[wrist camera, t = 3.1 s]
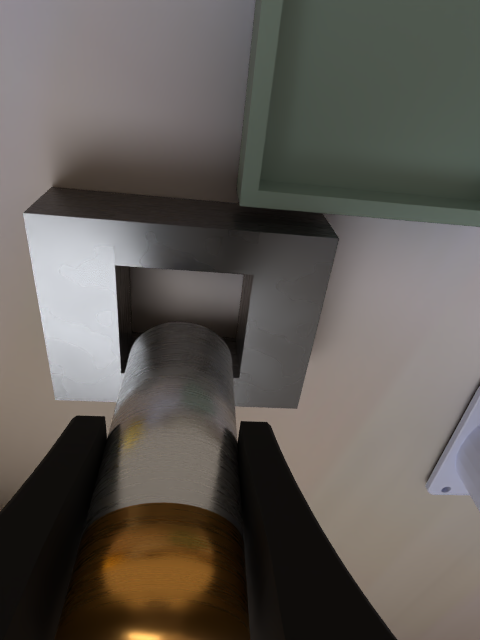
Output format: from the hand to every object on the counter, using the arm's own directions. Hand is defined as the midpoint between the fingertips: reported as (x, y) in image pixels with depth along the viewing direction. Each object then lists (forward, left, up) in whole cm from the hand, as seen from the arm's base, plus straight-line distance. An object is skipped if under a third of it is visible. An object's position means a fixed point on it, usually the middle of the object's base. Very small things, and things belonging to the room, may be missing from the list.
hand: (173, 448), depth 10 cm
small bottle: (0, 0, -3) cm, 3 cm away
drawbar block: (0, 0, -8) cm, 8 cm away
